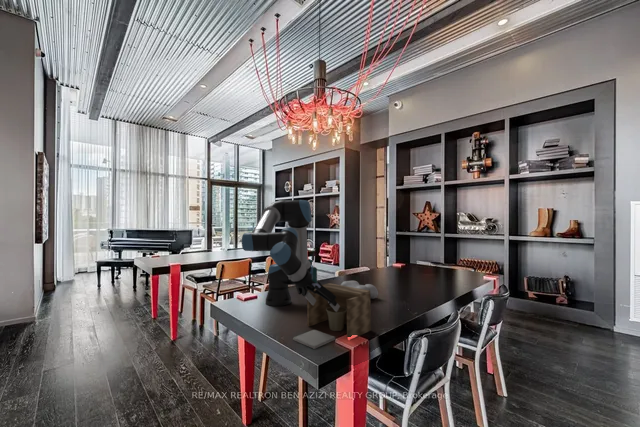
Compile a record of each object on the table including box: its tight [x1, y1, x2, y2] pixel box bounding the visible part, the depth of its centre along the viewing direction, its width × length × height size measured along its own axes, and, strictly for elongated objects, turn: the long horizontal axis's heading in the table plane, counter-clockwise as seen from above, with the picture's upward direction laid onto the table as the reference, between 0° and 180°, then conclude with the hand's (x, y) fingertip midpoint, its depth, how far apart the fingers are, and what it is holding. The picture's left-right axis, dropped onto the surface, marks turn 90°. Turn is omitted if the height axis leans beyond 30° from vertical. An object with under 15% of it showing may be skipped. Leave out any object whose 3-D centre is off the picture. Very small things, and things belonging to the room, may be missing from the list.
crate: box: [306, 282, 372, 338], centre depth 128 cm, size 15×24×17 cm, turn 46°
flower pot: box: [326, 307, 347, 332], centre depth 127 cm, size 9×9×9 cm
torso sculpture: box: [340, 280, 379, 300], centre depth 186 cm, size 16×11×30 cm
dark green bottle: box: [308, 259, 318, 289], centre depth 198 cm, size 10×8×22 cm
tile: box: [292, 329, 336, 350], centre depth 115 cm, size 12×12×1 cm
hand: (325, 305), depth 121 cm, fingers open, 13 cm apart
